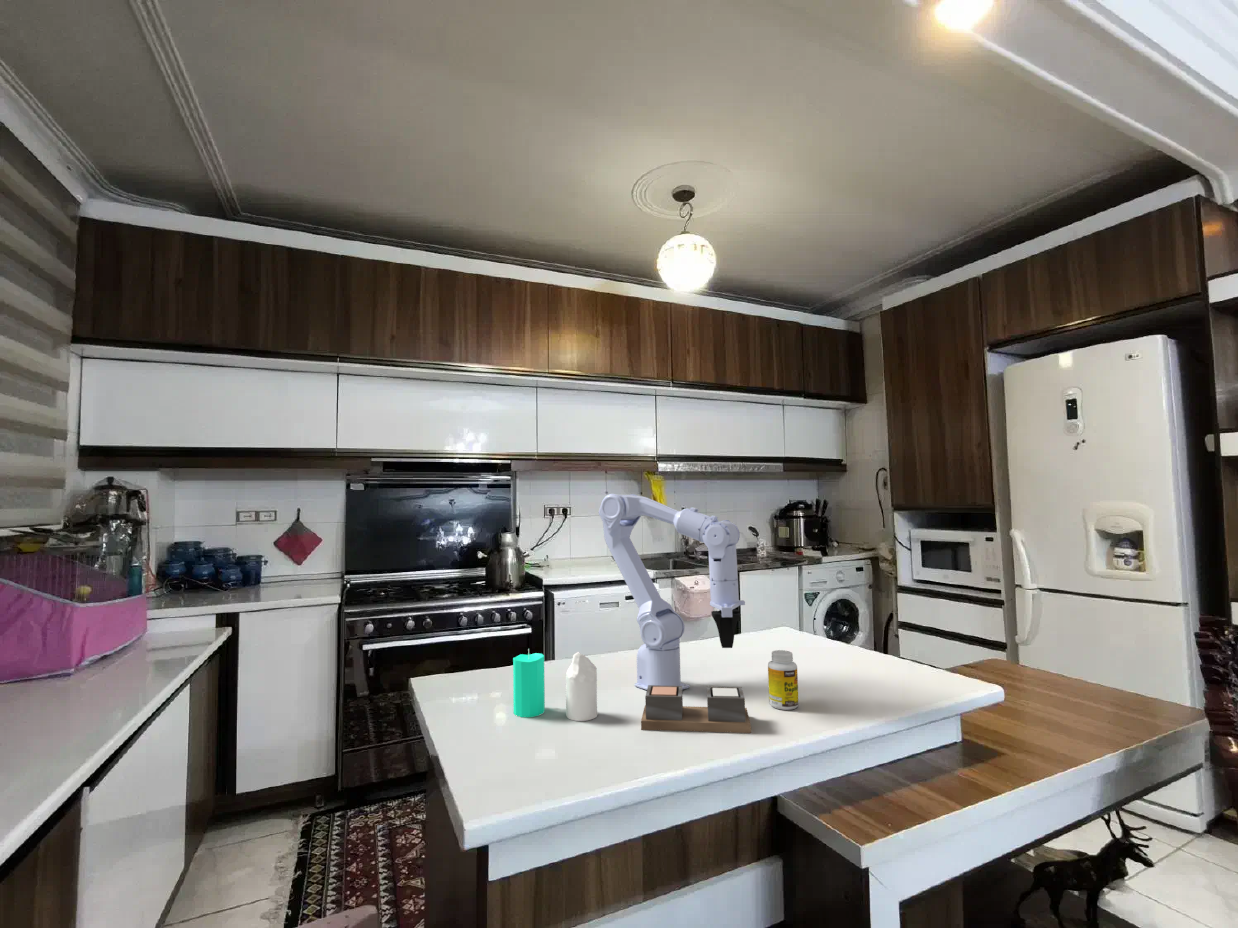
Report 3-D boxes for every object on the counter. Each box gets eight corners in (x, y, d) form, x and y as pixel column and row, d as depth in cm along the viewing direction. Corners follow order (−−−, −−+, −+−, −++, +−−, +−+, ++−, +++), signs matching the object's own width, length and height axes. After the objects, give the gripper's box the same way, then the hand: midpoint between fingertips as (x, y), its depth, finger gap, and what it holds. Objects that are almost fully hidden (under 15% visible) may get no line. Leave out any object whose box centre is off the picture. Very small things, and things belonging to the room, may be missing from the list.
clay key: (653, 700, 107) (653, 686, 107) (677, 700, 106) (676, 686, 106) (651, 708, 102) (651, 694, 102) (676, 708, 102) (675, 694, 102)
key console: (645, 713, 108) (644, 683, 109) (746, 716, 106) (745, 685, 106) (641, 729, 100) (640, 697, 101) (751, 732, 98) (749, 700, 98)
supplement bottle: (785, 713, 107) (783, 657, 108) (763, 704, 112) (761, 651, 113) (805, 706, 110) (802, 652, 111) (782, 699, 115) (780, 647, 116)
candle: (550, 707, 112) (549, 645, 113) (535, 718, 107) (535, 653, 108) (522, 705, 114) (522, 644, 115) (507, 715, 109) (507, 651, 110)
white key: (712, 701, 105) (712, 687, 105) (737, 702, 105) (736, 688, 105) (713, 710, 101) (713, 695, 101) (738, 710, 100) (738, 696, 100)
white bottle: (598, 648, 111) (593, 655, 105) (599, 711, 110) (594, 722, 104) (568, 647, 112) (562, 654, 106) (569, 710, 111) (562, 721, 105)
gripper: (746, 583, 109) (750, 656, 108) (740, 575, 124) (744, 639, 123) (709, 584, 110) (713, 656, 109) (707, 575, 125) (710, 639, 123)
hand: (727, 647), depth 116 cm, fingers closed
